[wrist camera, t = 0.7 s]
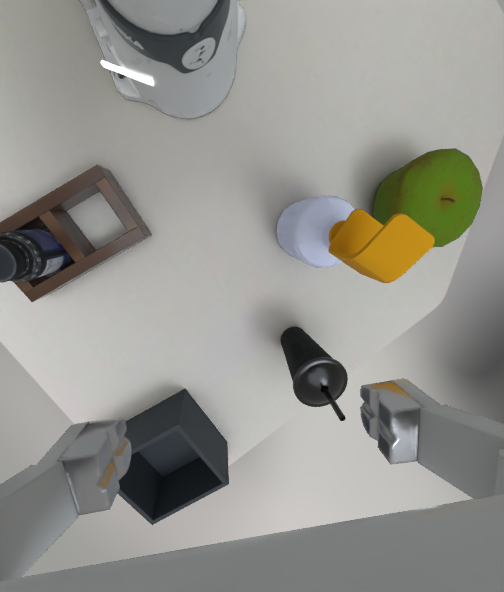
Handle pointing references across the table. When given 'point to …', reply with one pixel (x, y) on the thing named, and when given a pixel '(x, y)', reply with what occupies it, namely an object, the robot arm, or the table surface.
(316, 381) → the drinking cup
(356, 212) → the soap bottle
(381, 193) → the apple
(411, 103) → the table surface
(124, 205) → the brown wooden caddy
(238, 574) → the robot arm
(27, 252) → the pill bottle
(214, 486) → the open square box
